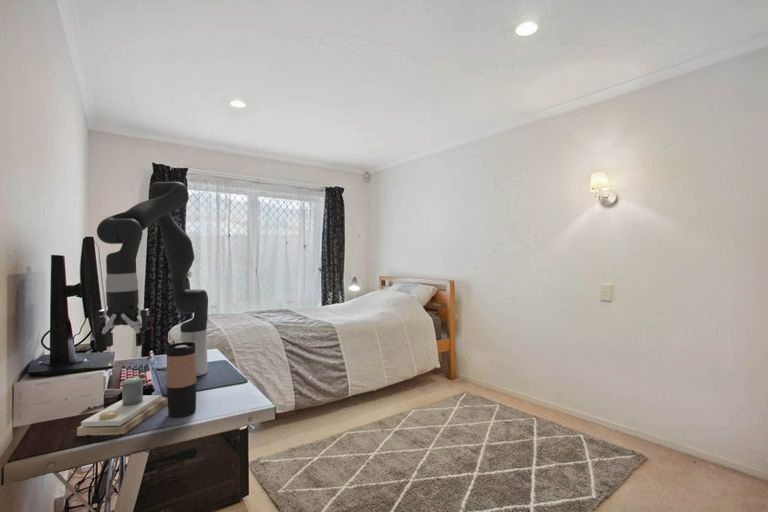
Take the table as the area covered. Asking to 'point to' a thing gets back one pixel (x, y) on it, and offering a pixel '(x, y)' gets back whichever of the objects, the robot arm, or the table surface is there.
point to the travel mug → (181, 379)
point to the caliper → (112, 392)
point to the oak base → (125, 426)
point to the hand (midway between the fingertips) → (124, 346)
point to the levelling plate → (124, 405)
